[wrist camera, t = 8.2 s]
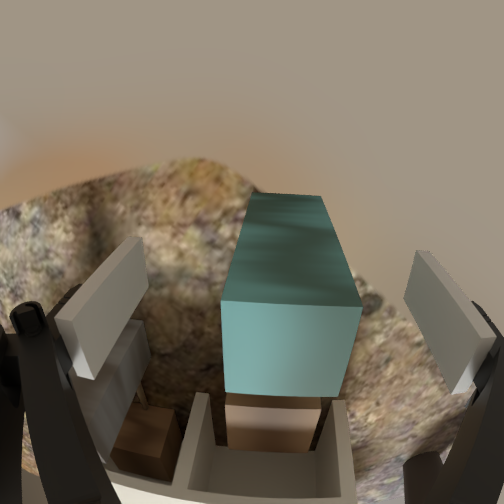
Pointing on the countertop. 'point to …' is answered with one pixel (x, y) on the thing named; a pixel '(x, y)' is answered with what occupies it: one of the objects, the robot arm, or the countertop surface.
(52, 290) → the countertop surface
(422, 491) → the coffee cup
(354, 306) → the corded block
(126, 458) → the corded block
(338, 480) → the shelf
